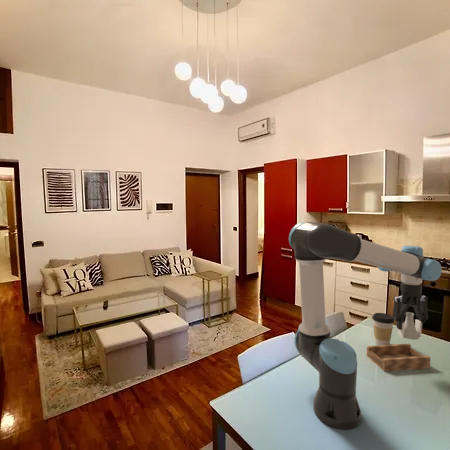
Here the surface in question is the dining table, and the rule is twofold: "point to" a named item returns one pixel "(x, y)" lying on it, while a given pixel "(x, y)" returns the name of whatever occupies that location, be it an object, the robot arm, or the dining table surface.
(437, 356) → the dining table surface
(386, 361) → the wooden tray
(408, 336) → the flask
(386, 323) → the coffee cup
